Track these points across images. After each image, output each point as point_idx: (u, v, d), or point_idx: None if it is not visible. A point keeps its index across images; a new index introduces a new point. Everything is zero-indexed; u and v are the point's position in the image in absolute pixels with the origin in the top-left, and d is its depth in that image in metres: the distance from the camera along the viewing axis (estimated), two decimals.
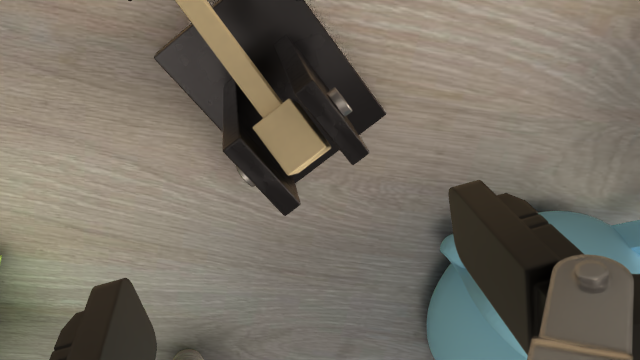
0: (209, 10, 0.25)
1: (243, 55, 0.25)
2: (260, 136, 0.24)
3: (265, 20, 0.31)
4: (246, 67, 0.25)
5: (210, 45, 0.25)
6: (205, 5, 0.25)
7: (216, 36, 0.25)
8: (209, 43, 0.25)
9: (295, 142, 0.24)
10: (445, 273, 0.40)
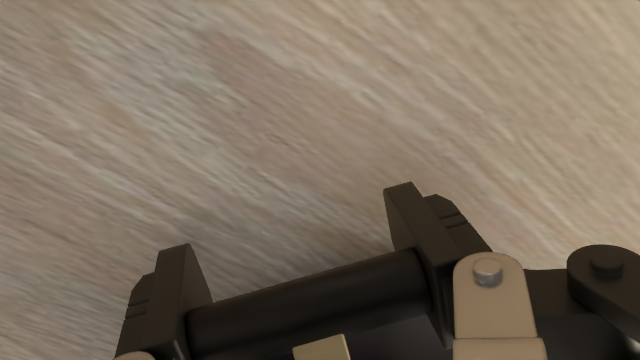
0: None
1: None
2: None
3: None
4: None
5: None
6: None
7: None
8: None
9: None
10: None
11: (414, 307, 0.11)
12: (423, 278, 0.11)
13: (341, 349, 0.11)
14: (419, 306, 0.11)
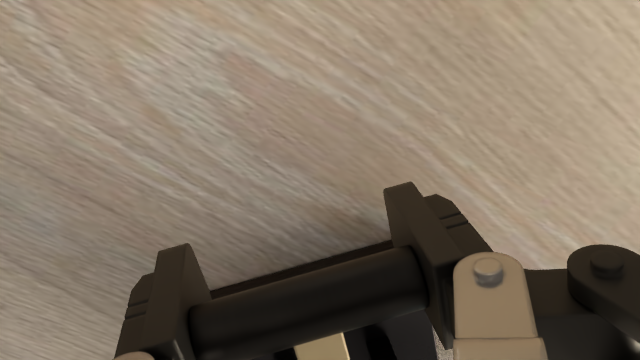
0: None
1: None
2: None
3: None
4: None
5: None
6: None
7: None
8: None
9: None
10: None
11: (411, 310, 0.11)
12: (422, 286, 0.11)
13: (339, 345, 0.11)
14: (416, 309, 0.11)
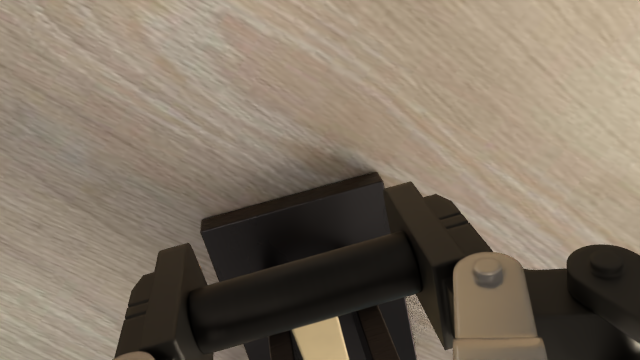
0: None
1: None
2: None
3: (343, 236, 0.26)
4: None
5: None
6: None
7: None
8: None
9: None
10: None
11: None
12: (418, 282, 0.11)
13: (333, 323, 0.12)
14: (408, 295, 0.12)
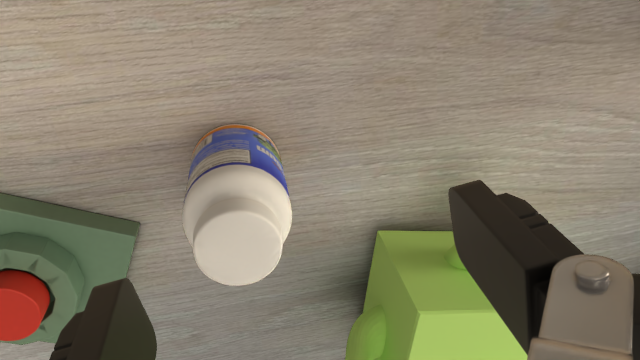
0: None
1: None
2: None
3: None
4: None
5: None
6: None
7: None
8: None
9: None
10: None
11: None
12: None
13: None
14: None
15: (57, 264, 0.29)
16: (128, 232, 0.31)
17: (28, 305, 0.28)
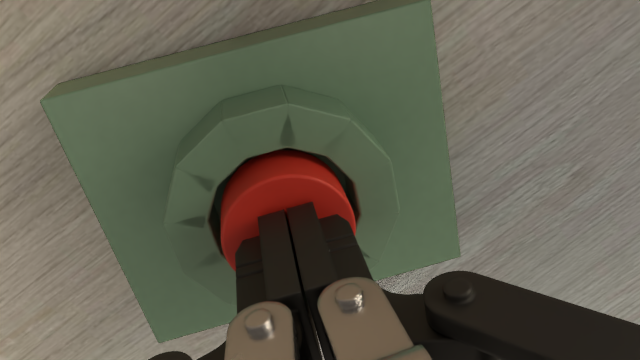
0: None
1: None
2: None
3: None
4: None
5: None
6: None
7: None
8: None
9: None
10: None
11: None
12: None
13: None
14: None
15: (326, 110, 0.14)
16: (411, 1, 0.15)
17: (320, 195, 0.14)
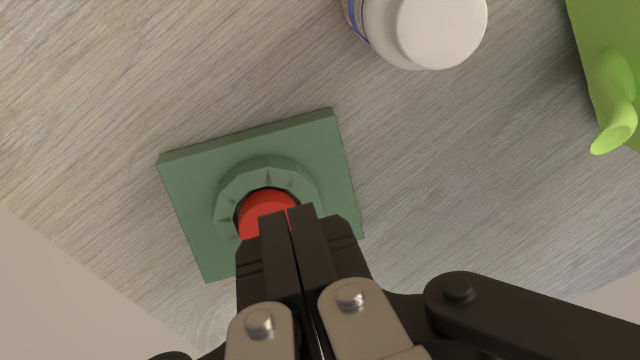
0: None
1: None
2: None
3: None
4: None
5: None
6: None
7: None
8: None
9: None
10: None
11: None
12: None
13: None
14: None
15: (286, 168, 0.31)
16: (327, 115, 0.32)
17: None
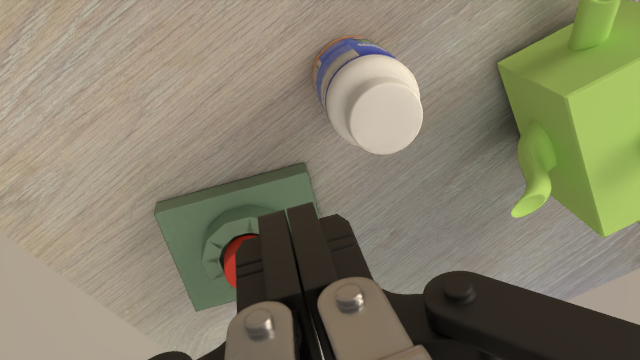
0: None
1: None
2: None
3: None
4: None
5: None
6: None
7: None
8: None
9: None
10: None
11: None
12: None
13: None
14: None
15: None
16: (300, 171, 0.37)
17: None
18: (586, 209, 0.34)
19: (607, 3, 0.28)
